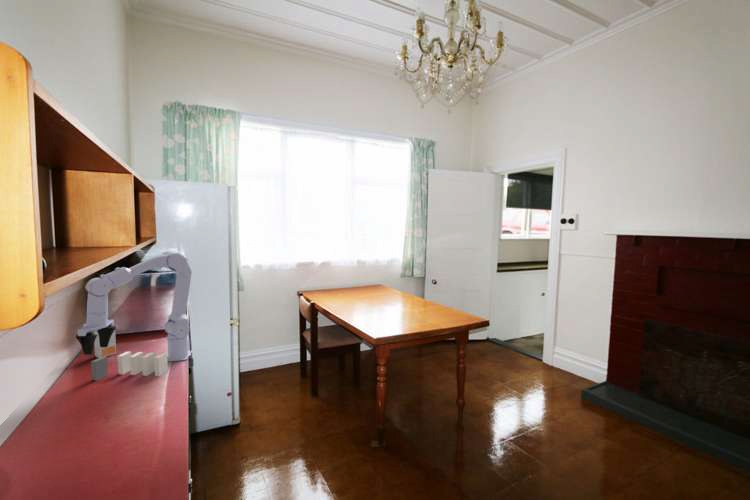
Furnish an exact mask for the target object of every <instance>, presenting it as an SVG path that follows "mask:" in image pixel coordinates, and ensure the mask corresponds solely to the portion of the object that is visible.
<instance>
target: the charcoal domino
mask: <svg viewBox="0 0 750 500" xmlns="http://www.w3.org/2000/svg"><path fill="white" fill-rule="evenodd" d="M90 369H91V371H90V372H91V381H92V380H95V381H94V382H96V381H97V380H98V381H99V379H100V380H102V379H103V378H106V377H107V376H108V362H107V356H106V357H100V358H98V357H97V358H96V359H94V360H91V361H90ZM98 381H97V382H98Z"/></svg>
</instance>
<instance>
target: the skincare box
mask: <svg viewBox="0 0 750 500" xmlns="http://www.w3.org/2000/svg"><path fill="white" fill-rule="evenodd" d="M93 335H97V337H96V339H95V342H94V356H96V357H95V358H97V359H98V358H100V357H106V358H107V357H109V356H113V355H116V354H117V345H116V341H117V339H116V329H115V330H114V332H113V334H112V336H111V338H110V341H109V344H108V347H100V343H99V335H98V332H97V331H94V332H93Z"/></svg>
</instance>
